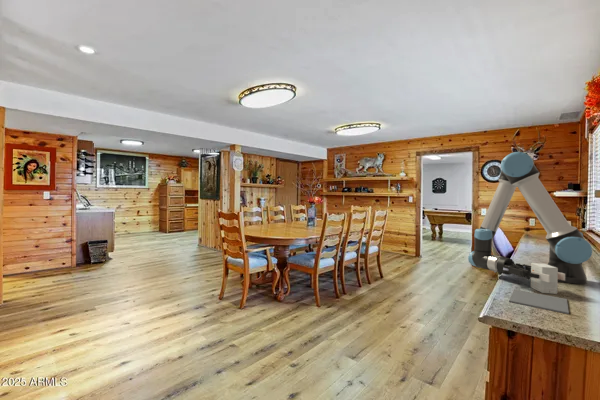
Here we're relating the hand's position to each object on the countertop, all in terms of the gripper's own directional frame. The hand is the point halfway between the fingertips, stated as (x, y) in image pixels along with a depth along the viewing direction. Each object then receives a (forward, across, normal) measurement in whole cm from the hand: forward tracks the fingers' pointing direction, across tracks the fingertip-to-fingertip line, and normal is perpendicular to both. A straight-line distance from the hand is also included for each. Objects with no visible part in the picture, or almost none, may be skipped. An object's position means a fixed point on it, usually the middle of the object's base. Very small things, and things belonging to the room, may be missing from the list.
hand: (556, 277), depth 116 cm
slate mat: (+3, +16, -7) cm, 18 cm away
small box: (-5, 0, -7) cm, 8 cm away
